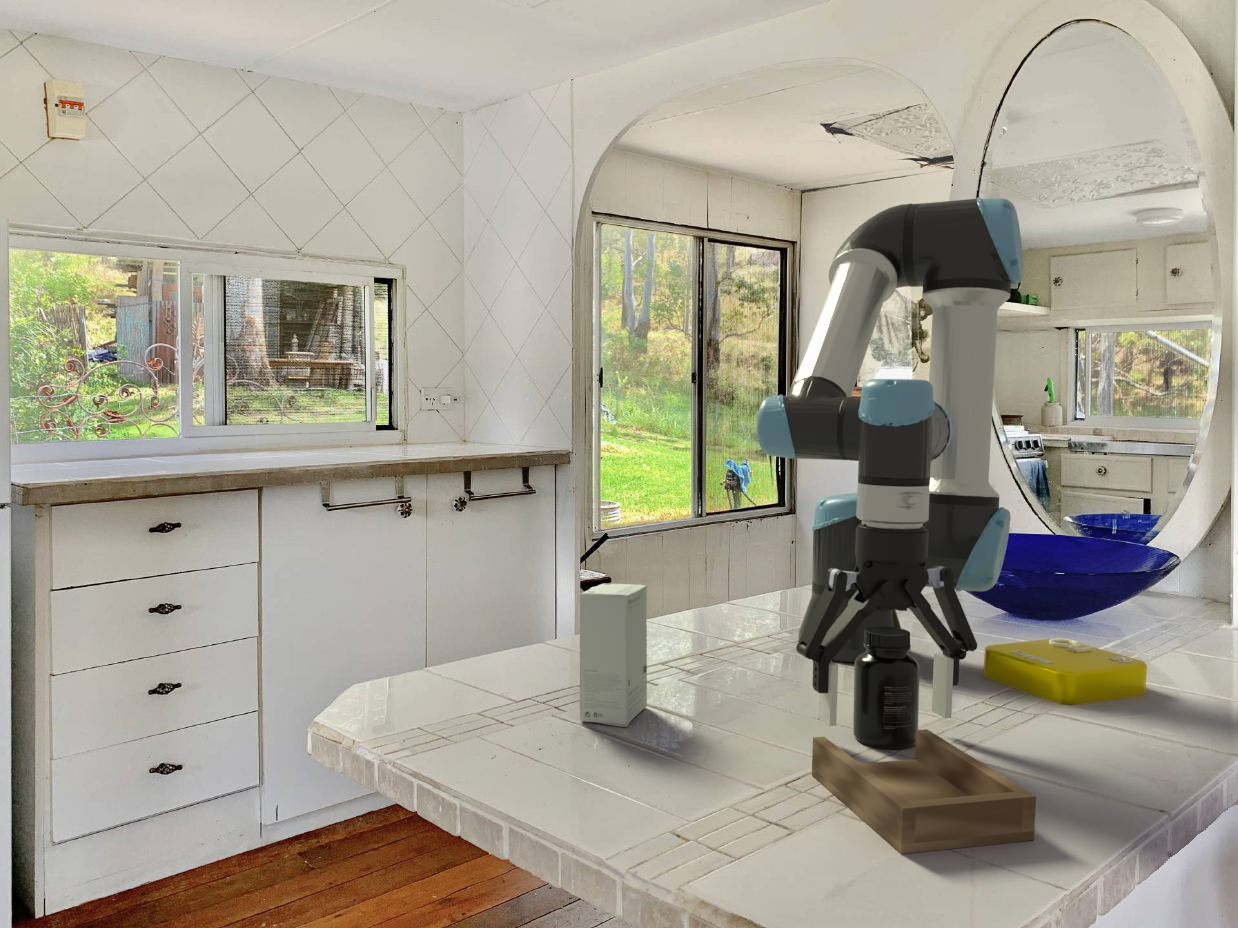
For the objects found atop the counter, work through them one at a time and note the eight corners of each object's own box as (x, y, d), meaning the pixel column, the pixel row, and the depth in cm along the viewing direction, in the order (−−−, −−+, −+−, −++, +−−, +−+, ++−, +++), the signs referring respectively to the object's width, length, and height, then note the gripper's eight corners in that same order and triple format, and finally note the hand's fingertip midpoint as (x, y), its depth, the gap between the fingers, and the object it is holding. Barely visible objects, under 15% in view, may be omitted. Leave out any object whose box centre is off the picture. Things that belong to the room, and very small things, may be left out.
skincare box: (627, 728, 111) (629, 596, 110) (576, 722, 113) (577, 592, 112) (648, 706, 119) (650, 582, 118) (599, 700, 121) (601, 579, 120)
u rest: (811, 775, 98) (812, 737, 98) (925, 765, 101) (926, 729, 101) (901, 853, 82) (902, 808, 81) (1034, 839, 85) (1036, 796, 84)
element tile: (976, 677, 136) (977, 642, 135) (1059, 666, 142) (1060, 633, 141) (1065, 709, 122) (1067, 670, 122) (1152, 696, 128) (1154, 659, 127)
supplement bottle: (921, 735, 111) (925, 627, 110) (912, 754, 104) (916, 641, 104) (859, 725, 113) (862, 620, 113) (846, 744, 107) (849, 633, 106)
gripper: (798, 529, 101) (792, 736, 102) (1016, 526, 107) (1007, 722, 108) (769, 520, 108) (764, 713, 109) (975, 517, 114) (967, 701, 115)
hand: (885, 718), depth 109 cm, fingers open, 13 cm apart
